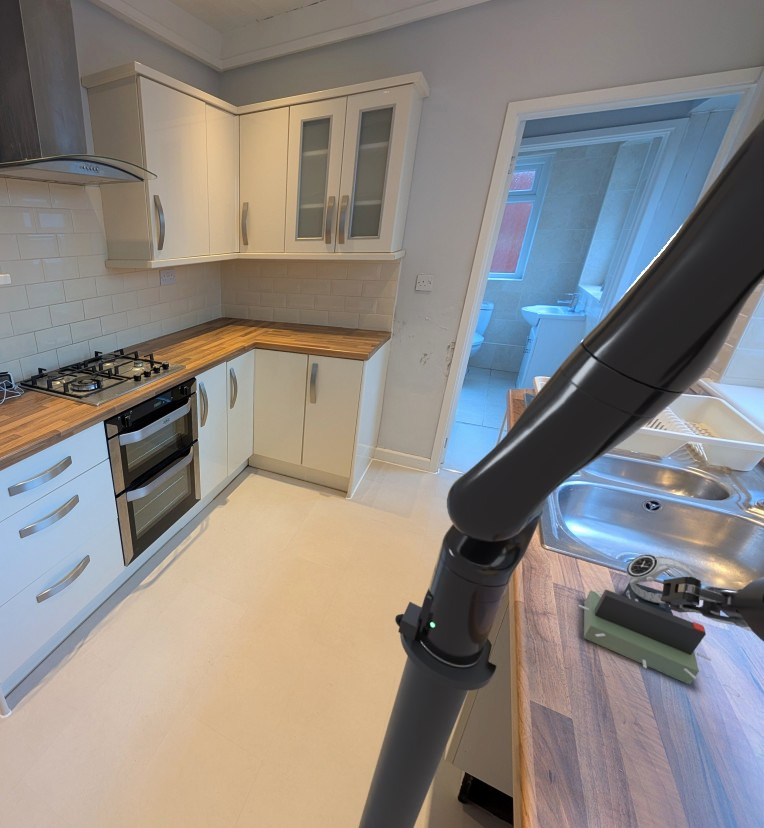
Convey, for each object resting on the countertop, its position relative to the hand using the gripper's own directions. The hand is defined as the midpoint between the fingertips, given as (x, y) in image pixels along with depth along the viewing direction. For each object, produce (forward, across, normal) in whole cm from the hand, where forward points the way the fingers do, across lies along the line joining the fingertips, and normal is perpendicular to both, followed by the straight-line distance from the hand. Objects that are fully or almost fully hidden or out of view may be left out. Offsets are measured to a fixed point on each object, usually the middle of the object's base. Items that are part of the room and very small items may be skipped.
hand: (719, 616), depth 50 cm
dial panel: (+22, 0, +4) cm, 23 cm away
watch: (+28, -2, -2) cm, 28 cm away
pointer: (+19, 0, +2) cm, 20 cm away
